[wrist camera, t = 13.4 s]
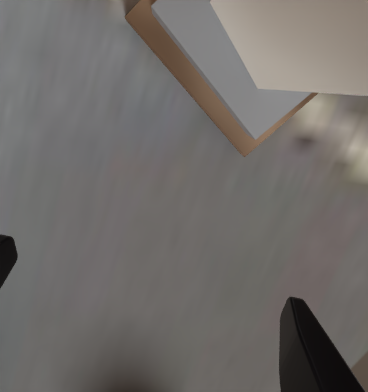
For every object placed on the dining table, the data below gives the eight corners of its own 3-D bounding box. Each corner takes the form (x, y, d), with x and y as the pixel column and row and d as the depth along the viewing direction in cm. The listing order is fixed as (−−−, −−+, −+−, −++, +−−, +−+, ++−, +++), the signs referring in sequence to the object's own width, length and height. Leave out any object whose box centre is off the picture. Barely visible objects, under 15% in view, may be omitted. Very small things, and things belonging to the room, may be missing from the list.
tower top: (246, 134, 20) (255, 139, 19) (152, 13, 18) (150, 5, 16) (365, 34, 19) (387, 29, 17) (281, -116, 16) (297, -141, 14)
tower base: (237, 150, 23) (244, 157, 21) (127, 23, 19) (124, 17, 18) (365, 38, 21) (385, 34, 19) (267, -125, 18) (280, -150, 16)
